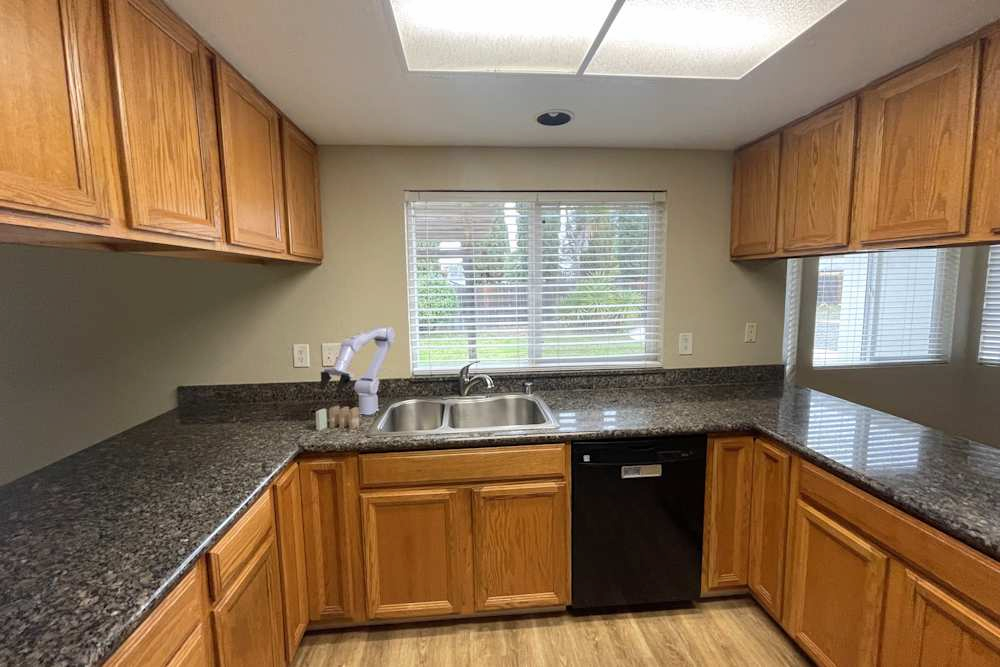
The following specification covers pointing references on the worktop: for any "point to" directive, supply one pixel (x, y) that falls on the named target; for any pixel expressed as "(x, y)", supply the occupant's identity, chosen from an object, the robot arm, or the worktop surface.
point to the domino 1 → (321, 419)
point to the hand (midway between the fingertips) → (329, 390)
